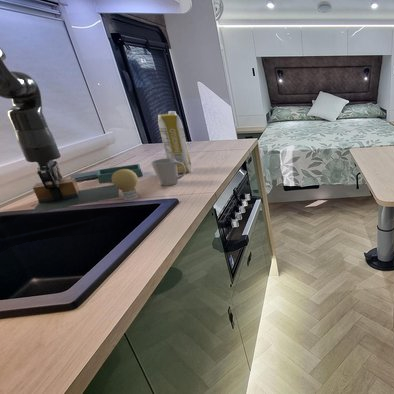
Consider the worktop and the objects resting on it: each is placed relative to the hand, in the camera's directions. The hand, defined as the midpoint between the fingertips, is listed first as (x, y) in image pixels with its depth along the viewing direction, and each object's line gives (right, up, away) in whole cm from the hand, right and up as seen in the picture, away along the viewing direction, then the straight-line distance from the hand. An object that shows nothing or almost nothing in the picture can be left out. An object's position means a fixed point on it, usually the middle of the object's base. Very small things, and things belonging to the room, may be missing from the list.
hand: (60, 196), depth 93 cm
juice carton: (+23, +11, +28) cm, 38 cm away
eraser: (0, 0, 0) cm, 0 cm away
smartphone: (-8, +8, +23) cm, 26 cm away
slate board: (+6, -1, +1) cm, 6 cm away
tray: (+4, +7, +20) cm, 22 cm away
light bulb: (+23, -1, 0) cm, 23 cm away
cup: (+28, +5, +14) cm, 31 cm away
